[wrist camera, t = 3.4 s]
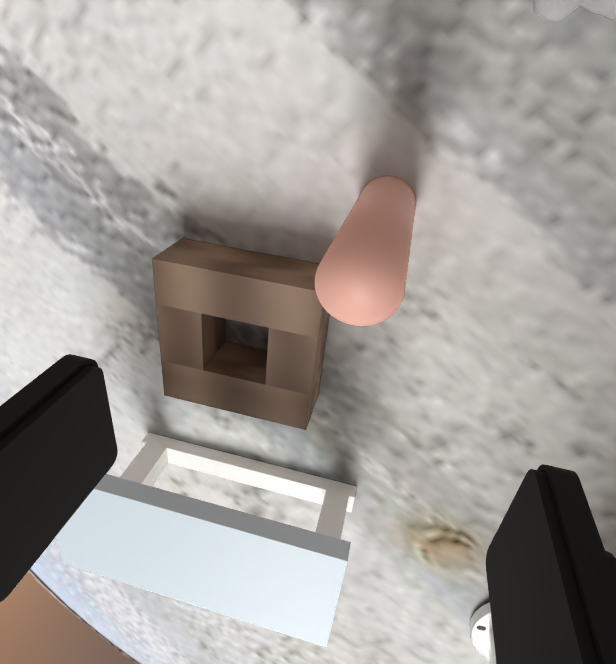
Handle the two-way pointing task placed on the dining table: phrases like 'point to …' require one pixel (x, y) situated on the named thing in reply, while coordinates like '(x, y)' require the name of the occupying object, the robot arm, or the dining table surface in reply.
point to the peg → (369, 255)
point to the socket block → (244, 306)
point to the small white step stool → (216, 540)
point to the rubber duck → (573, 8)
